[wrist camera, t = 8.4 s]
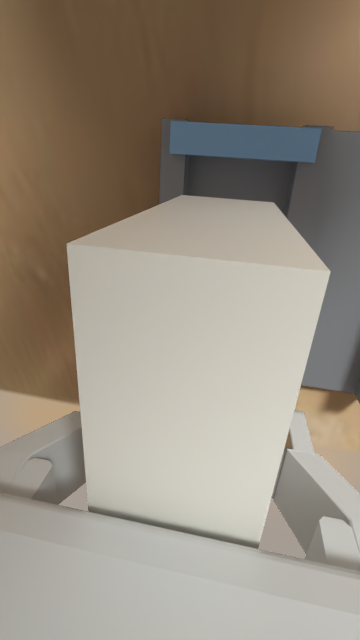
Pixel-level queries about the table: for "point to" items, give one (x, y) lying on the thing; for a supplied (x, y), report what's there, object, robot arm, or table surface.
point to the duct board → (287, 212)
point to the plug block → (191, 360)
